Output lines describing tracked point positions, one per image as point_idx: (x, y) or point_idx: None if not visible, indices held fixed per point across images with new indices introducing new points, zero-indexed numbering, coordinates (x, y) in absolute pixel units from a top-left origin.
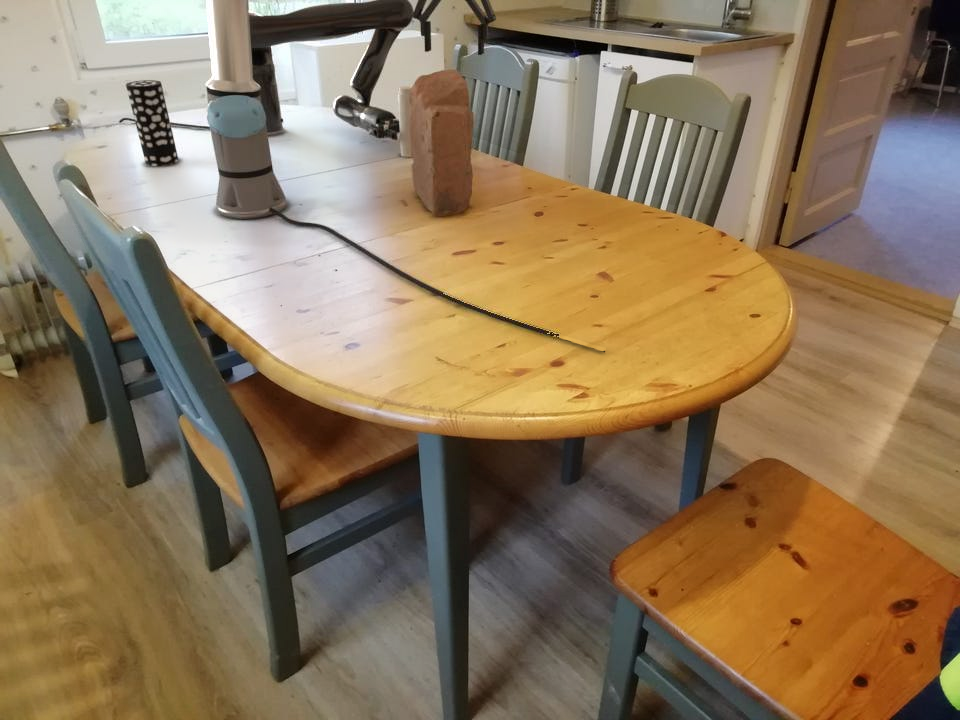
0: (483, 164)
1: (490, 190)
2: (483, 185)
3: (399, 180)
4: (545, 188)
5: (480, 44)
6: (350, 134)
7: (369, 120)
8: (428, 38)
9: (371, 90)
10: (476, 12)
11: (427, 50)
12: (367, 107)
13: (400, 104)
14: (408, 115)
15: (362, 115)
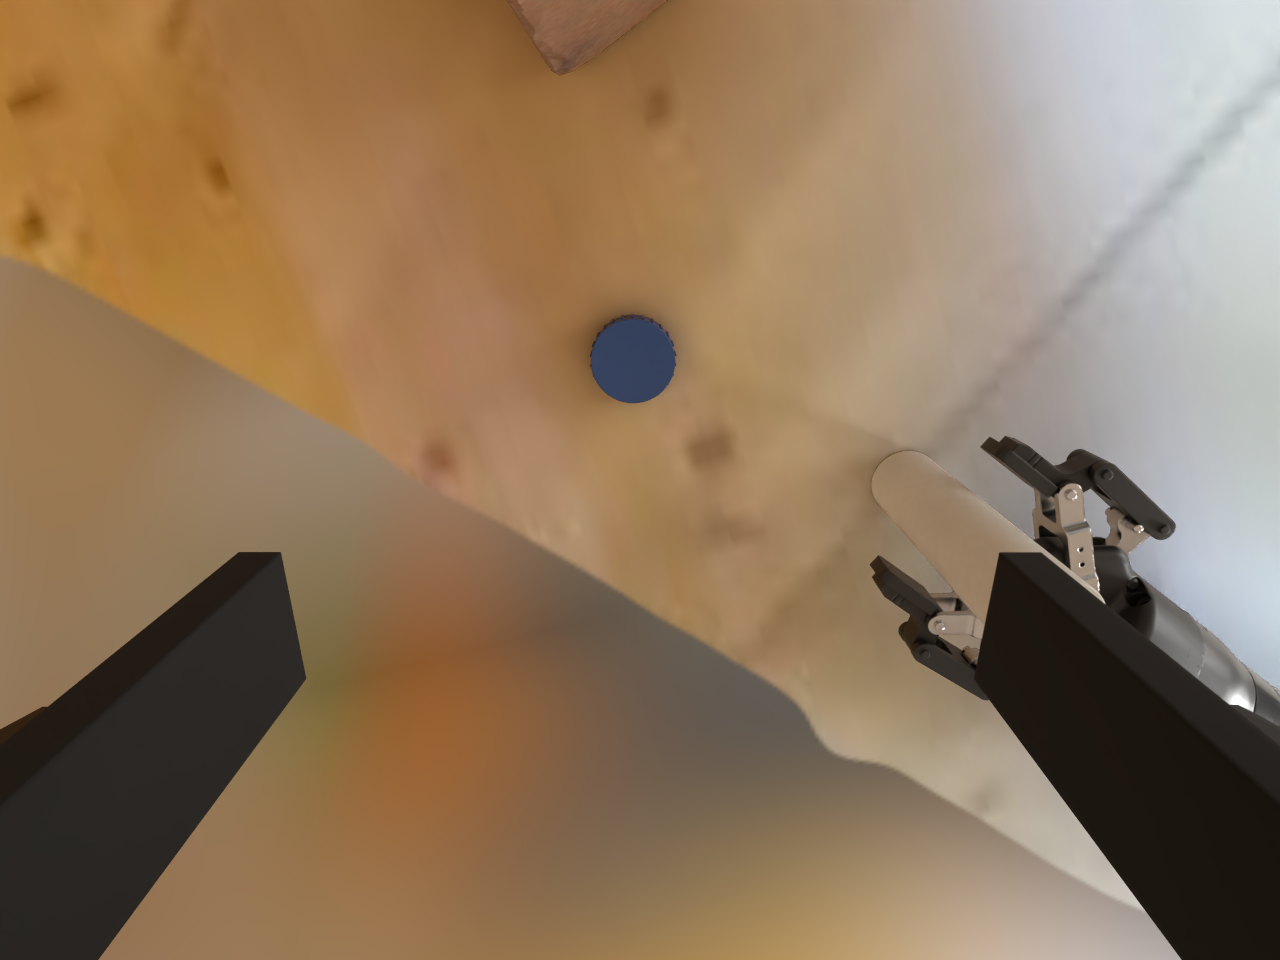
0: (538, 453)
1: (374, 79)
2: (433, 147)
3: (847, 89)
4: (152, 198)
5: (159, 621)
6: None
7: (1186, 616)
8: (1088, 696)
9: None
10: None
11: (1010, 559)
12: None
13: (1052, 557)
14: (971, 533)
15: (1240, 666)
